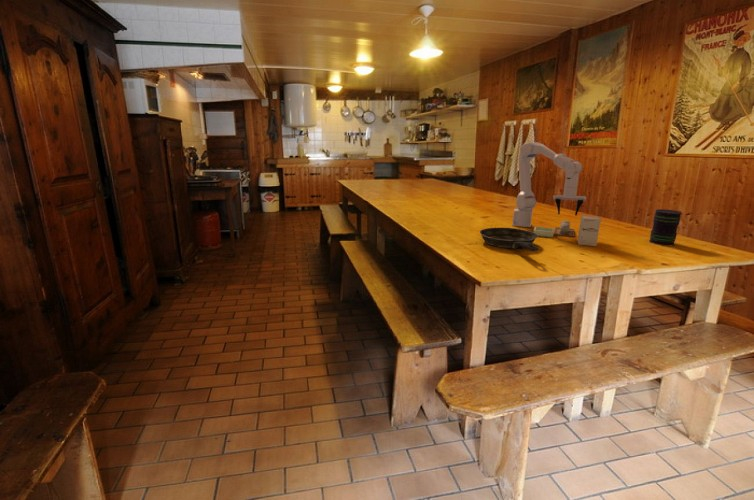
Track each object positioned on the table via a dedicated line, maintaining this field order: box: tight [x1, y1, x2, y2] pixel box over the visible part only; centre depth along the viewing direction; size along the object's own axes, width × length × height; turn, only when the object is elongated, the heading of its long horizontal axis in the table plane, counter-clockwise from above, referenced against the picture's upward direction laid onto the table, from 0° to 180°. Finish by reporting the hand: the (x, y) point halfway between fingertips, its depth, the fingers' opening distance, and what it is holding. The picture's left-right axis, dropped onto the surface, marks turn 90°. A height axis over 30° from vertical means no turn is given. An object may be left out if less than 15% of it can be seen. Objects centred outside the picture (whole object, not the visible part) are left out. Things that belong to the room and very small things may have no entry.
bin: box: [532, 226, 555, 239], centre depth 199 cm, size 9×9×3 cm
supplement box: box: [576, 214, 602, 247], centre depth 181 cm, size 7×7×13 cm
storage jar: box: [649, 209, 682, 247], centre depth 184 cm, size 10×10×15 cm
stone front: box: [560, 224, 571, 235], centre depth 199 cm, size 4×4×4 cm
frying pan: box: [479, 227, 539, 252], centre depth 173 cm, size 44×25×7 cm, turn 179°
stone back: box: [560, 220, 571, 229], centre depth 207 cm, size 4×4×4 cm
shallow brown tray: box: [553, 226, 575, 238], centre depth 204 cm, size 9×16×1 cm, turn 155°
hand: (567, 214), depth 197 cm, fingers open, 7 cm apart
